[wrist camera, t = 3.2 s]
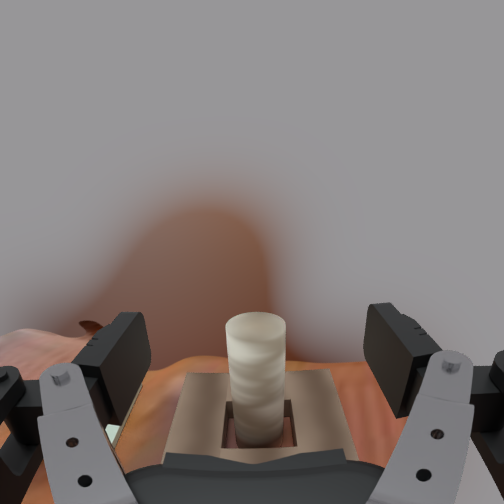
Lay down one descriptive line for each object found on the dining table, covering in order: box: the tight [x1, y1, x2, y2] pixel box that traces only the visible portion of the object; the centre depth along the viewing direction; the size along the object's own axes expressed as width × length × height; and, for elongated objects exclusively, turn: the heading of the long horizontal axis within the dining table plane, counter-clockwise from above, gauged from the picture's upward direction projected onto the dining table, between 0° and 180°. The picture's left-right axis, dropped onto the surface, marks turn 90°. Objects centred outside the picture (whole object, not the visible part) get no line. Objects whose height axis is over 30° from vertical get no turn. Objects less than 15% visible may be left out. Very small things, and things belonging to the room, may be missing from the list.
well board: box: [161, 369, 359, 464], centre depth 26 cm, size 16×16×2 cm
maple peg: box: [226, 312, 286, 449], centre depth 25 cm, size 4×4×13 cm
